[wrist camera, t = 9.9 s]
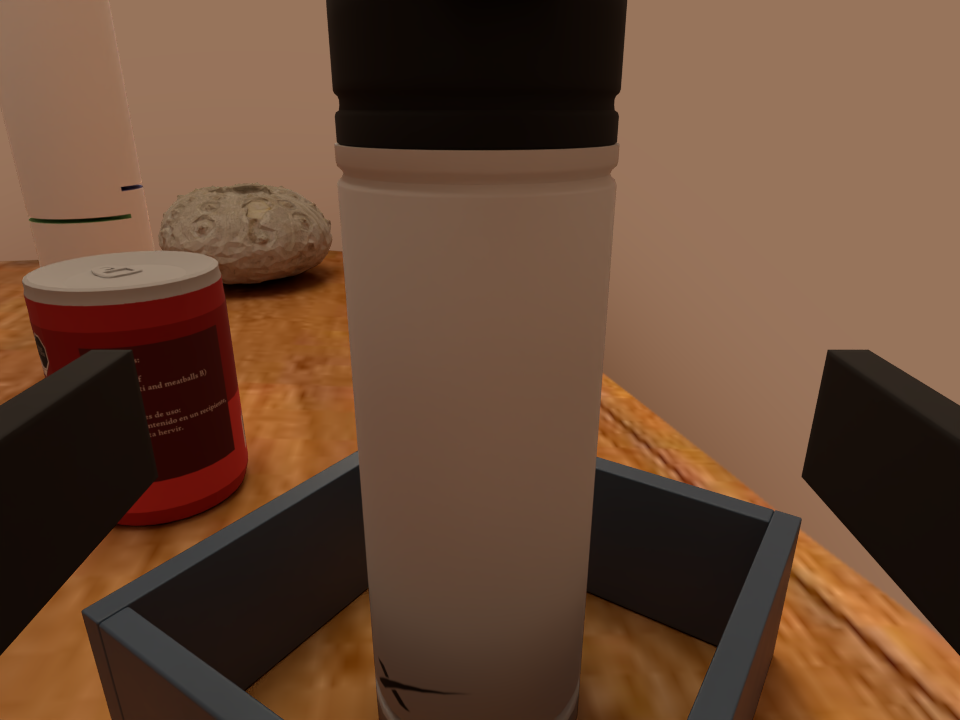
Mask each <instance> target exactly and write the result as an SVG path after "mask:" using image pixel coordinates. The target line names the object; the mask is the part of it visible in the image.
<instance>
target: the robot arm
mask: <svg viewBox="0 0 960 720" xmlns="http://www.w3.org/2000/svg"><path fill="white" fill-rule="evenodd" d="M157 478H158V472H157V467H156V462H155V457H154V453H153V448H152V443H151V438H150V433H149V428H148V424H147V419H146V414H145V409H144V404H143V399H142V395H141V390H140V385H139V380H138V375H137V370H136V366H135V361H134V356H133V351H132V350H90V351H89V352H87V353H86V354H84V355H82V356H81V357H79V358H77V359H76V360H74V361H72V362H71V363H69V364H68V365H66V366H64V367H63V368H61V369H59V370H58V371H56V372H54V373H53V374H51V375H50V376H48V377H46V378H45V379H43V380H41V381H40V382H38V383H36V384H35V385H33V386H32V387H30V388H28V389H27V390H25V391H23V392H22V393H20V394H18V395H17V396H15V397H14V398H12V399H10V400H9V401H7V402H5V403H4V404H2V405H0V655H1V654H2V653H3V652H4V651H5V650H6V649H7V648H8V646H9V645H10V644H11V643H12V642H13V641H14V640H15V638H16V637H17V636H18V635H19V634H20V633H21V632H22V631H23V629H24V628H25V627H26V626H27V625H28V624H29V623H30V621H31V620H32V619H33V618H34V617H35V616H36V615H37V614H38V612H39V611H40V610H41V609H42V608H43V607H44V606H45V605H46V603H47V602H48V601H49V600H50V599H51V598H52V597H53V595H54V594H55V593H56V592H57V591H58V590H59V589H60V588H61V586H62V585H63V584H64V583H65V582H66V581H67V580H68V578H69V577H70V576H71V575H72V574H73V573H74V572H75V571H76V569H77V568H78V567H79V566H80V565H81V564H82V563H83V562H84V560H85V559H86V558H87V557H88V556H89V555H90V554H91V552H92V551H93V550H94V549H95V548H96V547H97V546H98V545H99V543H100V542H101V541H102V540H103V539H104V538H105V537H106V535H107V534H108V533H109V532H110V531H111V530H112V529H113V528H114V526H115V525H116V524H117V523H118V522H119V521H120V520H121V518H122V517H123V516H124V515H125V514H126V513H127V512H128V511H129V509H130V508H131V507H132V506H133V505H134V504H135V503H136V502H137V500H138V499H139V498H140V497H141V496H142V495H143V494H144V492H145V491H146V490H147V489H148V488H149V487H150V486H151V485H152V483H153V482H154V481H155V480H156V479H157ZM802 478H803V479H804V480H805V481H806V482H807V483H808V485H809V486H810V487H811V488H812V489H813V490H814V491H815V492H816V494H817V495H818V496H819V497H820V498H821V499H822V500H823V502H824V503H825V504H826V505H827V506H828V507H829V508H830V509H831V511H832V512H833V513H834V514H835V515H836V516H837V517H838V518H839V520H840V521H841V522H842V523H843V524H844V525H845V526H846V527H847V529H848V530H849V531H850V532H851V533H852V534H853V535H854V537H855V538H856V539H857V540H858V541H859V542H860V543H861V545H862V546H863V547H864V548H865V549H866V550H867V551H868V552H869V554H870V555H871V556H872V557H873V558H874V559H875V560H876V562H877V563H878V564H879V565H880V566H881V567H882V568H883V569H884V571H885V572H886V573H887V574H888V575H889V576H890V577H891V578H892V580H893V581H894V582H895V583H896V584H897V585H898V586H899V588H900V589H901V590H902V591H903V592H904V593H905V594H906V595H907V597H908V598H909V599H910V600H911V601H912V602H913V603H914V605H915V606H916V607H917V608H918V609H919V610H920V611H921V612H922V614H923V615H924V616H925V617H926V618H927V619H928V620H929V621H930V623H931V624H932V625H933V626H934V627H935V628H936V629H937V631H938V632H939V633H940V634H941V635H942V636H943V637H944V638H945V640H946V641H947V642H948V643H949V644H950V645H951V646H952V648H953V649H954V650H955V651H956V652H957V653H958V654H959V655H960V405H958V404H956V403H955V402H953V401H951V400H950V399H948V398H946V397H945V396H943V395H942V394H940V393H938V392H937V391H935V390H933V389H932V388H930V387H928V386H927V385H925V384H923V383H922V382H920V381H919V380H917V379H915V378H914V377H912V376H910V375H909V374H907V373H906V372H904V371H902V370H901V369H899V368H897V367H896V366H894V365H892V364H891V363H889V362H887V361H886V360H884V359H883V358H881V357H879V356H878V355H876V354H874V353H873V352H871V351H870V350H828V351H827V356H826V361H825V366H824V370H823V375H822V380H821V385H820V390H819V395H818V399H817V404H816V409H815V414H814V419H813V424H812V429H811V433H810V438H809V443H808V448H807V453H806V458H805V462H804V467H803V472H802Z"/></svg>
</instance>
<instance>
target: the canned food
mask: <svg viewBox="0 0 960 720" xmlns="http://www.w3.org/2000/svg"><path fill="white" fill-rule="evenodd" d="M22 283H23V286H24V297H25V301H26V305H27V309H28V312H29V318H30V322H31V326H32V330H33V333H34V337H35V341H36V345H37V348H38V352H39V356H40V359H41V363H42V367H43V370H44V374H45V378H46V377H48V376H50V375H51V374H53V373H54V372H56V371H58V370H59V369H61V368H63V367H64V366H66V365H68V364H69V363H71V362H72V361H74V360H76V359H77V358H79V357H81V356H82V355H84V354H86V353H87V352H89V351H90V350H132V351H133V356H134V361H135V366H136V370H137V375H138V380H139V385H140V390H141V395H142V399H143V404H144V409H145V414H146V419H147V424H148V428H149V433H150V438H151V443H152V448H153V453H154V457H155V462H156V467H157V472H158V478H157V479H156V480H155V481H154V482H153V483H152V485H151V486H150V487H149V488H148V489H147V490H146V491H145V492H144V494H143V495H142V496H141V497H140V498H139V499H138V500H137V502H136V503H135V504H134V505H133V506H132V507H131V508H130V509H129V511H128V512H127V513H126V514H125V515H124V516H123V517H122V518H121V520H120V521H119V522H118V523H117V524H120V525H132V526H143V525H156V524H162V523H169V522H173V521H177V520H181V519H185V518H188V517H191V516H193V515H196V514H199V513H202V512H204V511H206V510H208V509H210V508H212V507H214V506H216V505H217V504H219V503H220V502H222V501H223V500H225V499H226V498H228V497H229V496H230V495H231V494H232V493H233V492H234V491H236V490H237V488H238V487H239V486H240V484H241V483H242V482H243V479H244V476H245V473H246V468H247V462H248V452H247V445H246V438H245V431H244V424H243V417H242V410H241V403H240V396H239V389H238V382H237V375H236V368H235V362H234V355H233V348H232V341H231V334H230V327H229V320H228V313H227V306H226V299H225V294H224V289H223V282H222V275H221V272H220V270H219V265H218V261H217V260H216V259H214V258H212V257H209V256H206V255H203V254H198V253H192V252H182V251H136V252H121V253H110V254H102V255H94V256H88V257H81V258H76V259H71V260H65V261H61V262H57V263H53V264H50V265H47V266H44V267H41V268H38V269H36V270H34V271H32V272H30V273H28V274H27V275H26V276H24V277H23V280H22Z"/></svg>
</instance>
